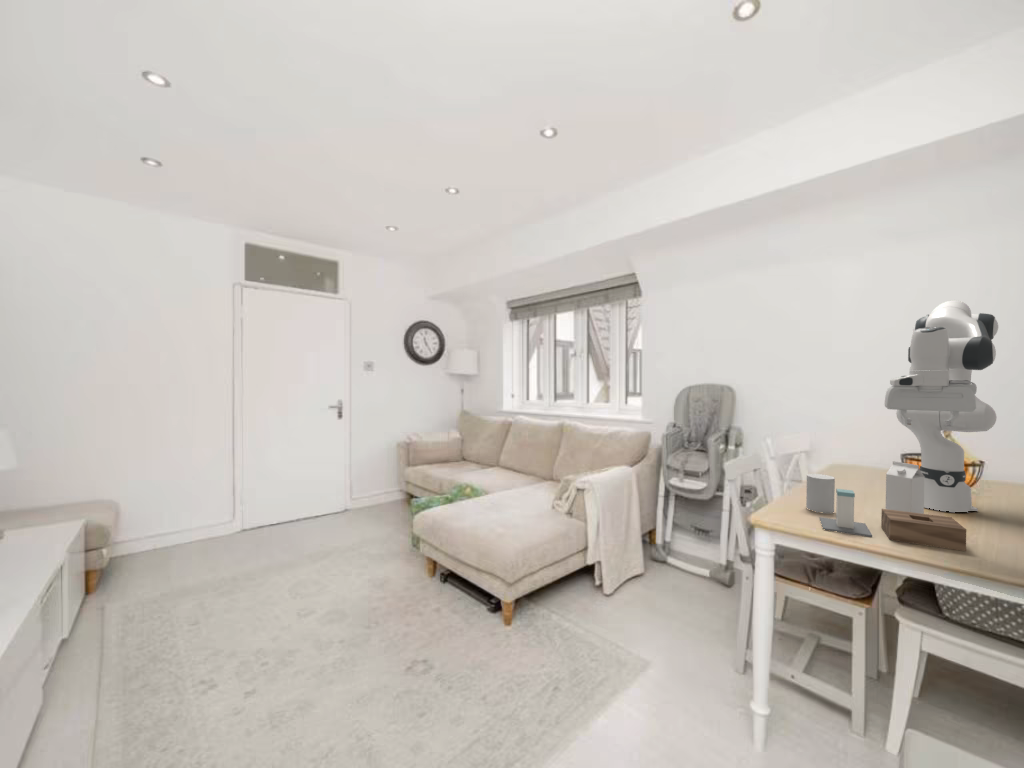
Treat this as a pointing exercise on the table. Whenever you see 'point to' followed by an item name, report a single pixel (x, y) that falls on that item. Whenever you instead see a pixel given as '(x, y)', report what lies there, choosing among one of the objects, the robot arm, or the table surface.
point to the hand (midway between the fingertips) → (927, 425)
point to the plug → (845, 508)
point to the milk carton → (905, 488)
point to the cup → (820, 493)
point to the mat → (858, 528)
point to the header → (923, 529)
